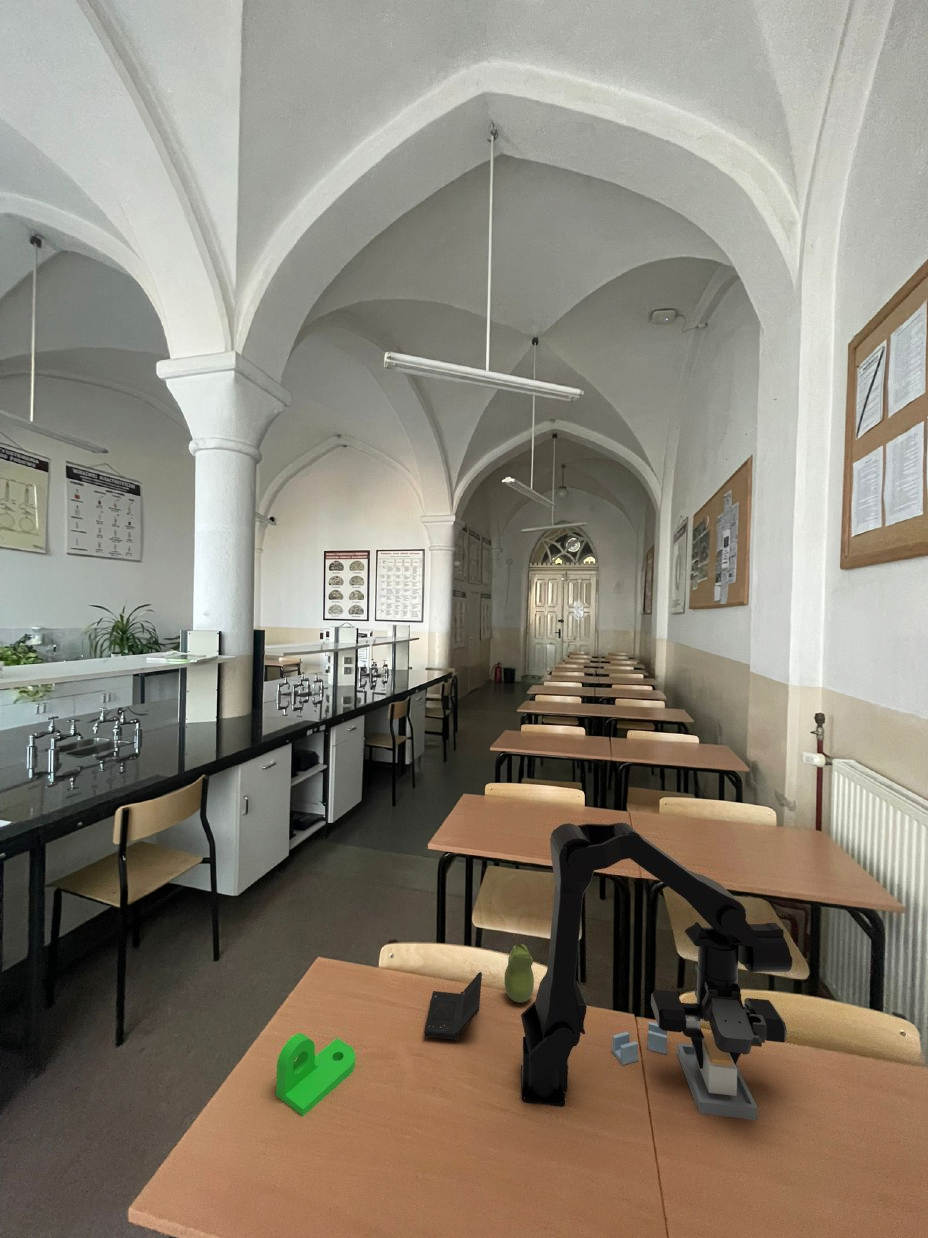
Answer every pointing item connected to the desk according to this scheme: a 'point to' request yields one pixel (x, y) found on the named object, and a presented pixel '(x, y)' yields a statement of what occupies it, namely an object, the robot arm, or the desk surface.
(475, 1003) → the handheld gaming console
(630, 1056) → the clip
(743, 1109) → the grey rectangular tray
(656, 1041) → the clip
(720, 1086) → the white orange block
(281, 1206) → the desk surface
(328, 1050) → the mechanical part
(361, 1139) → the desk surface
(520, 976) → the pear
